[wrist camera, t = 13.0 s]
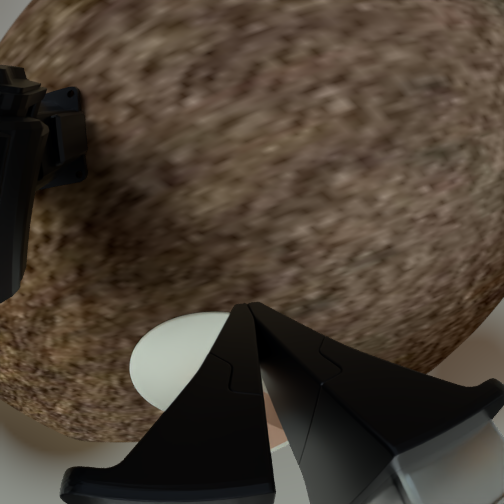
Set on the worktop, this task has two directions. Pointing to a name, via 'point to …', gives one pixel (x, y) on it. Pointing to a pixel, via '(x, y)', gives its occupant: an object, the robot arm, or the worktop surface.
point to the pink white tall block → (274, 426)
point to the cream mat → (174, 355)
